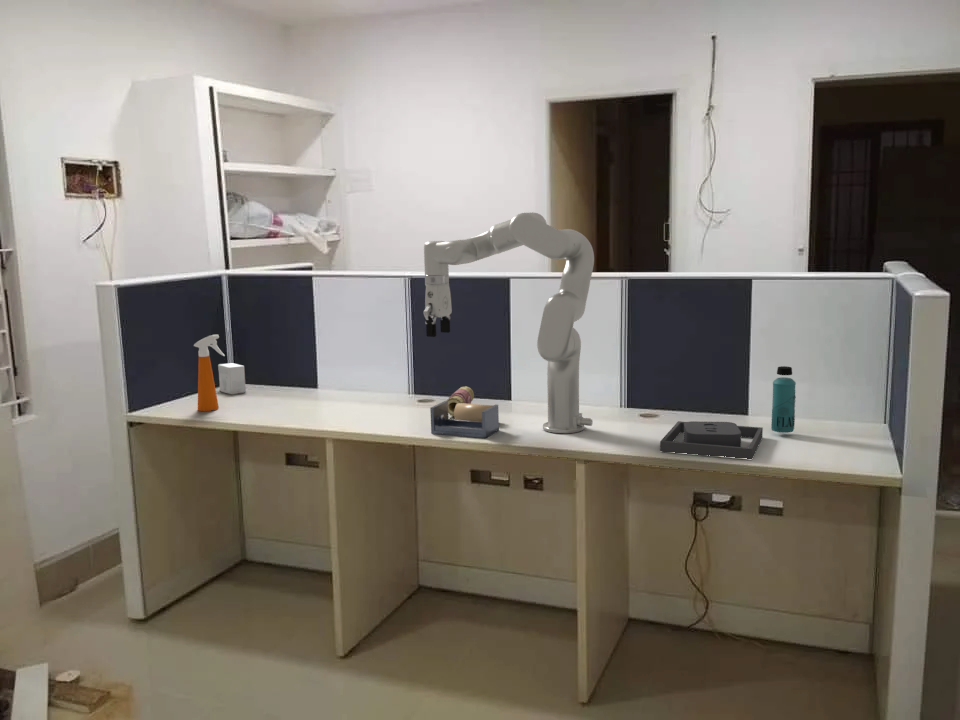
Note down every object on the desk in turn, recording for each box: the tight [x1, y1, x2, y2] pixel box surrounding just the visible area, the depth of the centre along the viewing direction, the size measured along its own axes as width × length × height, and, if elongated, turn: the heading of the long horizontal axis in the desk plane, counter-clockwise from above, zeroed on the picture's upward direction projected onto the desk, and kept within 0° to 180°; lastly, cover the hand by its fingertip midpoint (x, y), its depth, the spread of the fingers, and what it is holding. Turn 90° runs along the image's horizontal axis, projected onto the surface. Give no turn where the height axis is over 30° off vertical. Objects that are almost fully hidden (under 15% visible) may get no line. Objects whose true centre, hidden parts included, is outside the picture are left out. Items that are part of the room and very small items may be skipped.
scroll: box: [445, 385, 475, 417], centre depth 289 cm, size 8×8×20 cm
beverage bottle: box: [770, 365, 797, 434], centre depth 248 cm, size 6×7×20 cm
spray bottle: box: [193, 334, 226, 412], centre depth 301 cm, size 7×11×26 cm, turn 90°
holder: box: [429, 400, 500, 439], centre depth 261 cm, size 18×10×8 cm, turn 66°
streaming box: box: [683, 420, 742, 447], centre depth 241 cm, size 14×14×5 cm
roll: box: [453, 403, 493, 422], centre depth 273 cm, size 12×6×6 cm, turn 66°
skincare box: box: [217, 362, 247, 395], centre depth 332 cm, size 10×6×10 cm, turn 40°
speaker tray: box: [659, 421, 764, 460], centre depth 241 cm, size 24×24×3 cm
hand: (438, 334), depth 275 cm, fingers open, 9 cm apart
